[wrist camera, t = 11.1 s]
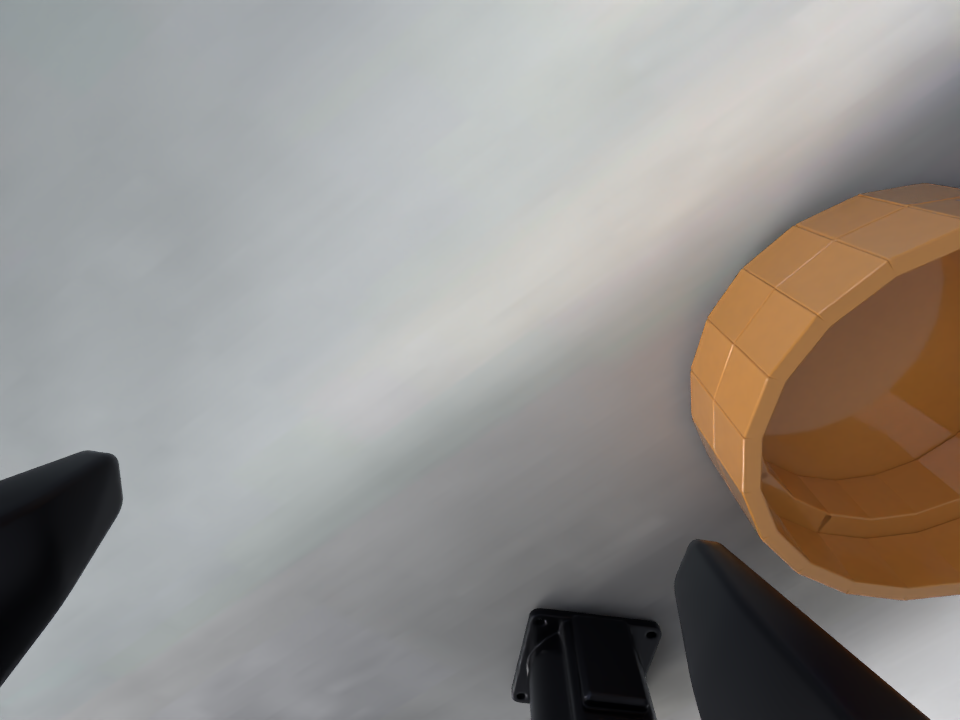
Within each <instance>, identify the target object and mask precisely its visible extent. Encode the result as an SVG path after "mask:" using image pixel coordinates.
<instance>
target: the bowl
mask: <svg viewBox="0 0 960 720" xmlns="http://www.w3.org/2000/svg"><path fill="white" fill-rule="evenodd" d="M690 373H691V414H692V419H693V422H694V424H695V426H696V429H697V431H698V433H699V435H700V438H701V440H702V442H703V445H704V447H705V449H706V452H707V454H708V456H709V457H710V459H711V461H712V462H713V464H714V465H715V467H716V468H717V470H718V472H719V473H720V475H721V476H722V478H723V480H724V481H725V483H726V484H727V486H728V487H729V489H730V491H731V492H732V494H733V496H734V497H735V499H736V500H737V502H738V503H739V505H740V507H741V508H742V510H743V511H744V513H745V515H746V516H747V518H748V519H749V521H750V522H751V524H752V526H753V527H754V529H755V530H756V532H757V534H758V535H759V537H760V538H761V540H762V541H763V542H764V543H765V544H767V545H768V546H769V547H770V548H771V549H772V550H773V551H774V552H775V553H776V554H777V555H778V556H779V557H780V558H781V559H782V560H784V561H785V562H786V563H787V564H788V565H789V566H790V567H791V568H792V569H793V570H794V571H795V572H797V573H798V574H800V575H803V576H805V577H807V578H810V579H812V580H814V581H817V582H819V583H822V584H824V585H826V586H829V587H831V588H833V589H836V590H838V591H841V592H843V593H846V594H851V595H860V596H868V597H876V598H885V599H893V600H902V601H903V600H915V599H924V598H933V597H942V596H952V595H960V188H955V187H949V186H942V185H935V184H929V183H920V184H915V185H909V186H903V187H897V188H891V189H886V190H880V191H874V192H868V193H862V194H858V195H857V196H854V197H852V198H850V199H848V200H846V201H844V202H841V203H839V204H837V205H835V206H833V207H831V208H829V209H827V210H825V211H822V212H820V213H818V214H816V215H814V216H812V217H810V218H808V219H806V220H803V221H801V222H799V223H797V224H796V226H792V227H791V228H790V229H788V230H787V231H786V232H785V233H784V234H782V235H781V236H780V237H779V238H778V239H776V240H775V241H774V242H773V243H772V244H770V245H769V246H768V247H767V248H766V249H764V250H763V251H762V252H761V253H760V254H759V255H757V256H756V257H755V258H754V259H753V260H751V261H750V262H749V263H748V264H747V265H745V266H744V269H743V268H742V269H741V270H740V272H739V273H738V274H737V276H736V277H735V279H734V280H733V282H732V283H731V284H730V286H729V287H728V289H727V290H726V292H725V293H724V294H723V296H722V297H721V299H720V300H719V302H718V303H717V304H716V306H715V307H714V309H713V310H712V312H711V313H710V314H709V316H708V319H707V321H706V324H705V327H704V330H703V333H702V336H701V339H700V342H699V345H698V348H697V351H696V354H695V357H694V360H693V363H692V366H691V372H690Z"/></svg>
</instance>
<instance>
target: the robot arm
mask: <svg viewBox="0 0 960 720" xmlns="http://www.w3.org/2000/svg"><path fill="white" fill-rule="evenodd" d="M122 501H123V494H122V486H121V478H120V470H119V463H118V460H117V458H116V457H115V456H114V455H112V454H110V453H103V452H96V451H82V452H79V453H76V454H73V455H70V456H68V457H65V458H62V459H59V460H57V461H54V462H51V463H48V464H45V465H43V466H40V467H37V468H34V469H31V470H29V471H26V472H23V473H20V474H18V475H15V476H12V477H9V478H6V479H4V480H1V481H0V687H1V686H2V684H3V683H4V682H5V680H6V679H7V678H8V676H9V675H10V674H11V672H12V671H13V670H14V668H15V667H16V666H17V664H18V663H19V662H20V660H21V659H22V658H23V657H24V655H25V654H26V653H27V651H28V650H29V649H30V647H31V646H32V645H33V643H34V642H35V641H36V639H37V638H38V637H39V635H40V634H41V633H42V631H43V630H44V629H45V627H46V626H47V625H48V623H49V622H50V621H51V619H52V618H53V617H54V615H55V614H56V613H57V611H58V610H59V608H60V607H61V606H62V604H63V603H64V601H65V600H66V598H67V597H68V595H69V593H70V592H71V590H72V589H73V587H74V586H75V584H76V582H77V581H78V579H79V577H80V576H81V574H82V573H83V571H84V569H85V568H86V566H87V564H88V563H89V561H90V560H91V558H92V556H93V555H94V553H95V551H96V550H97V548H98V546H99V545H100V543H101V542H102V540H103V538H104V537H105V535H106V533H107V532H108V530H109V529H110V527H111V525H112V524H113V522H114V520H115V519H116V517H117V515H118V514H119V512H120V509H121V506H122ZM674 588H675V596H676V602H677V607H678V613H679V618H680V624H681V629H682V635H683V640H684V646H685V651H686V657H687V662H688V668H689V673H690V678H691V682H692V687H693V691H694V695H695V699H696V702H697V706H698V710H699V713H700V717H701V720H930V719H929V718H928V717H927V716H926V715H924V714H923V713H922V712H921V711H920V710H918V709H917V708H916V707H915V706H914V705H912V704H911V703H910V702H909V701H908V700H907V699H905V698H904V697H903V696H902V695H901V694H899V693H898V692H897V691H896V690H895V689H893V688H892V687H891V686H890V685H889V684H887V683H886V682H885V681H884V680H883V679H882V678H880V677H879V676H878V675H877V674H876V673H874V672H873V671H872V670H871V669H870V668H868V667H867V666H866V665H865V664H864V663H862V662H861V661H860V660H859V659H858V658H857V657H855V656H854V655H853V654H852V653H851V652H849V651H848V650H847V649H846V648H845V647H843V646H842V645H841V644H840V643H839V642H837V641H836V640H835V639H834V638H833V637H832V636H830V635H829V634H828V633H827V632H826V631H824V630H823V629H822V628H821V627H820V626H818V625H817V624H816V623H815V622H814V621H812V620H811V619H810V618H809V617H808V616H807V615H805V614H804V613H803V612H802V611H801V610H799V609H798V608H797V607H796V606H795V605H793V604H792V603H791V602H790V601H789V600H787V599H786V598H785V597H784V596H783V595H782V594H780V593H779V592H778V591H777V590H776V589H774V588H773V587H772V586H771V585H770V584H768V583H767V582H766V581H765V580H764V579H762V578H761V577H760V576H759V575H758V574H757V573H755V572H754V571H753V570H752V569H751V568H749V567H748V566H747V565H746V564H745V563H743V562H742V561H741V560H740V559H739V558H737V557H736V556H735V555H734V554H733V553H731V552H730V551H729V550H728V549H727V548H726V547H724V546H723V545H722V544H720V543H718V542H714V541H707V540H700V539H696V540H693V541H692V542H691V543H690V544H689V546H688V548H687V550H686V553H685V555H684V558H683V560H682V562H681V565H680V567H679V570H678V572H677V574H676V578H675V585H674ZM660 638H661V631H660V627H659V625H658V624H657V623H656V622H653V621H647V620H638V619H629V618H621V617H612V616H603V615H595V614H586V613H577V612H569V611H560V610H551V609H543V608H537V609H534V610H533V611H531V613H530V615H529V619H528V623H527V627H526V631H525V635H524V639H523V643H522V647H521V651H520V656H519V660H518V664H517V668H516V672H515V676H514V680H513V684H512V698H513V700H514V701H516V702H520V703H530V712H531V720H657V719H656V715H655V711H654V708H653V704H652V700H651V697H650V693H649V689H648V686H647V682H646V678H645V676H646V674H647V671H648V669H649V666H650V664H651V661H652V659H653V656H654V653H655V651H656V648H657V646H658V643H659V641H660Z"/></svg>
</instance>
